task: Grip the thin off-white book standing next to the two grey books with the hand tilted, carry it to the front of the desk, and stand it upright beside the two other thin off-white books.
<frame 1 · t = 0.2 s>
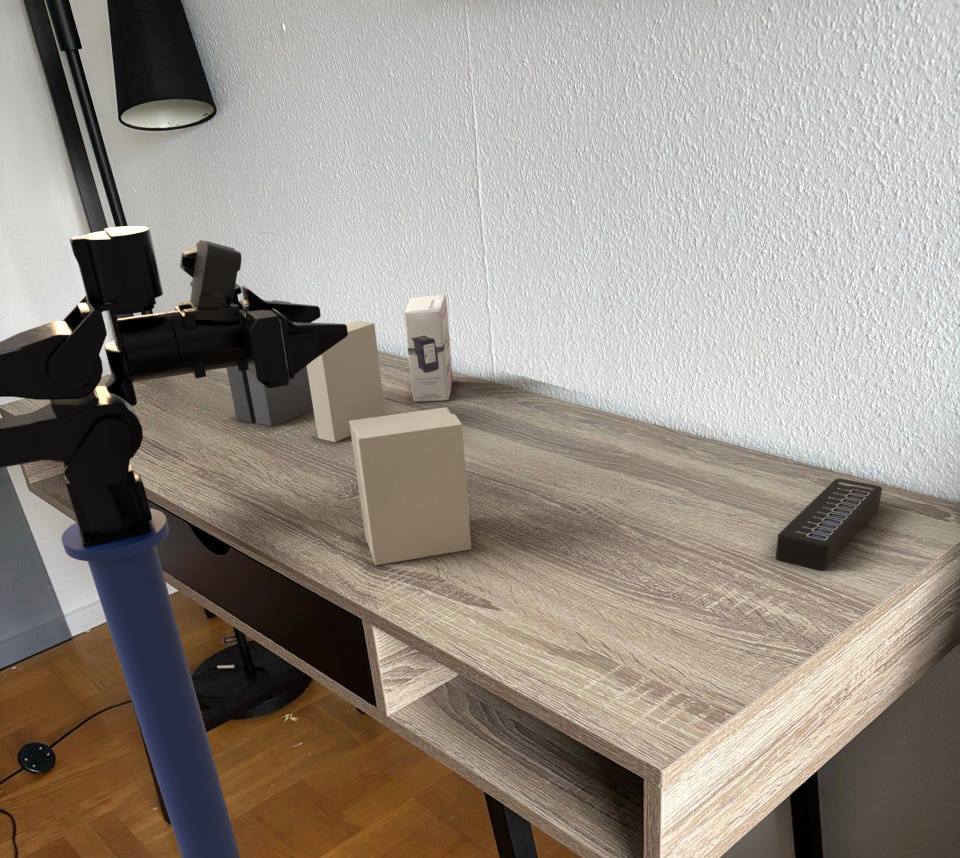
hand: (332, 320, 94), 17 cm above the table, tool horizontal, fingers open, 9 cm apart
multiport hub: (828, 534, 86), on the table
white books: (417, 542, 89), on the table
grey books: (281, 412, 124), on the table
ink box: (433, 393, 128), on the table
white book: (352, 429, 117), on the table
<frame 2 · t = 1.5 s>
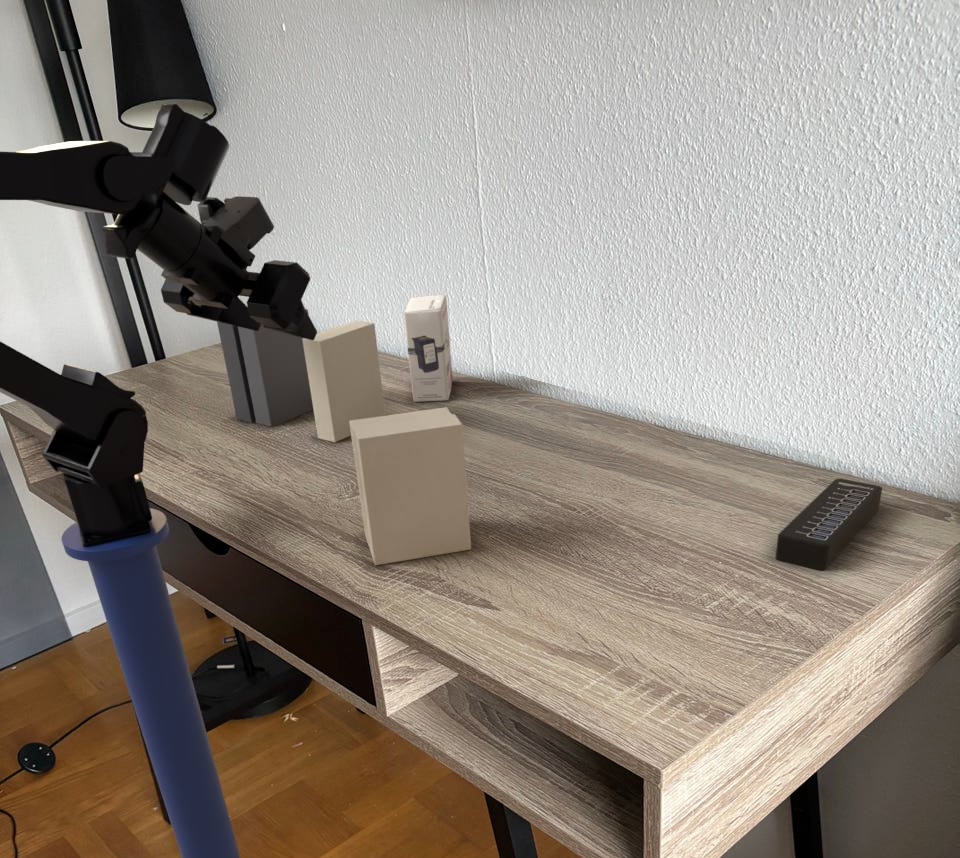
hand: (286, 331, 104), 14 cm above the table, tool tilted 45°, fingers open, 9 cm apart
nothing on the table moved.
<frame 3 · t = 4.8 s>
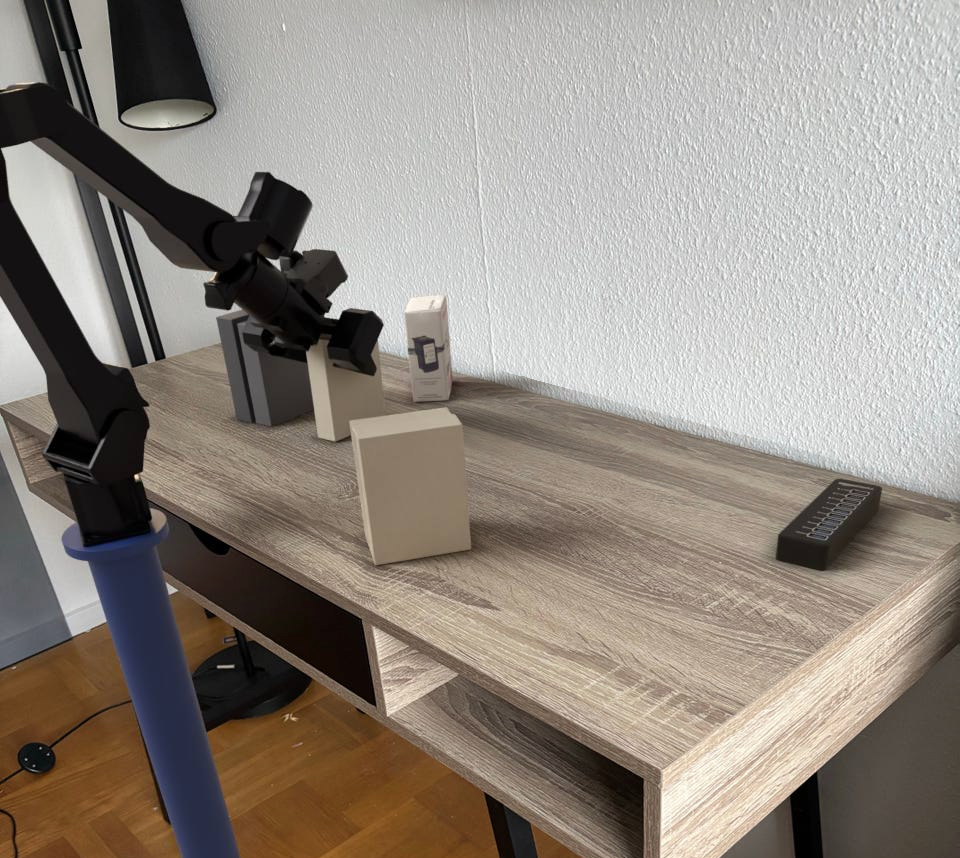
hand: (353, 368, 114), 7 cm above the table, tool tilted 45°, fingers closed on white book, 7 cm apart
white book: (352, 428, 117), on the table, touching gripper
everything else where it was.
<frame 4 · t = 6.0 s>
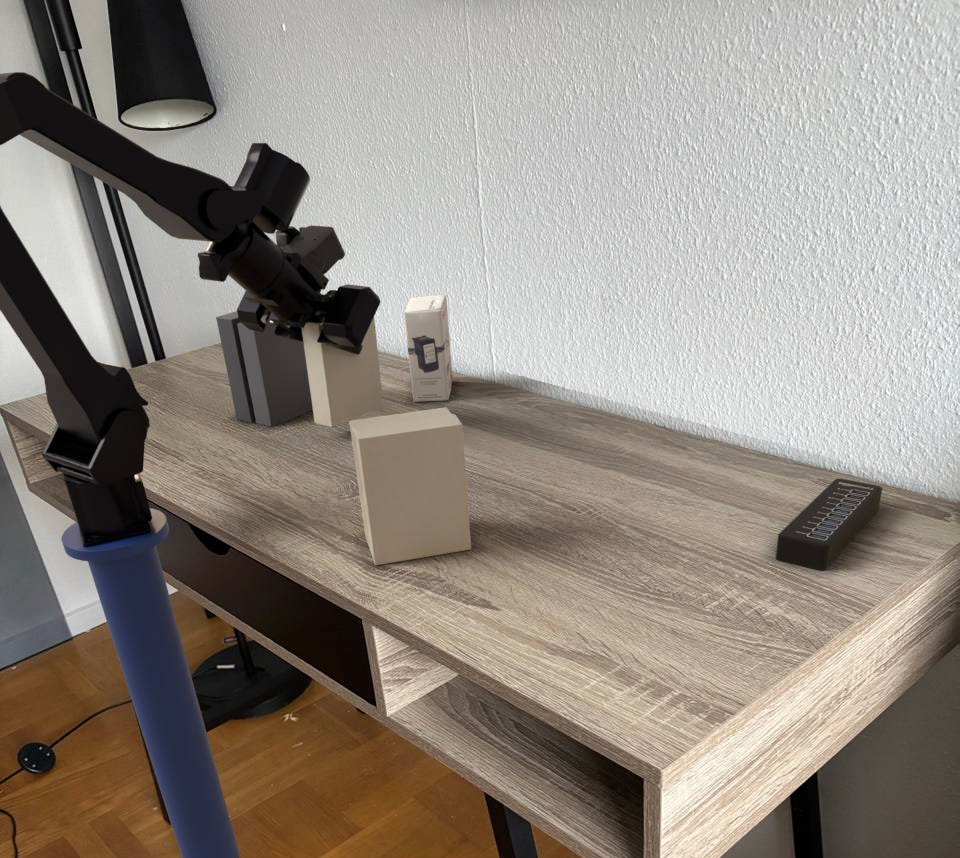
hand: (349, 349, 113), 9 cm above the table, tool tilted 45°, fingers closed on white book, 3 cm apart
white book: (349, 415, 116), point 2 cm above the table, touching gripper
everything else where it was.
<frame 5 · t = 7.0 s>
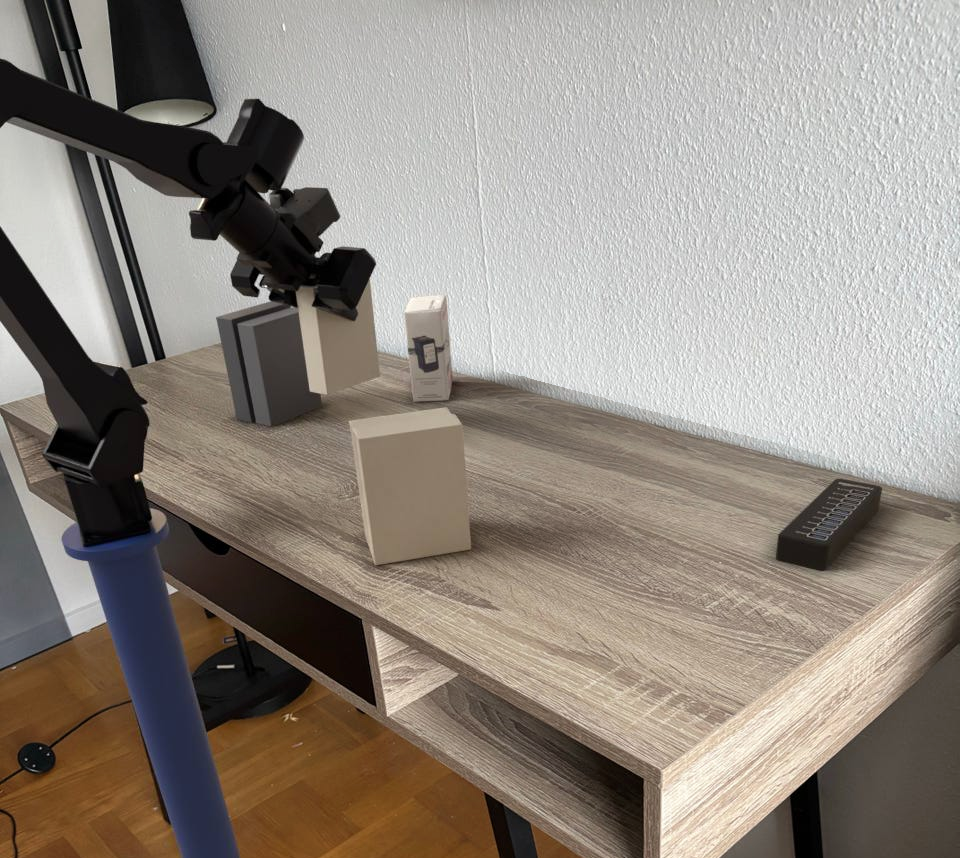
hand: (345, 315, 111), 13 cm above the table, tool tilted 45°, fingers closed on white book, 3 cm apart
white book: (345, 383, 114), point 6 cm above the table, touching gripper
everything else where it was.
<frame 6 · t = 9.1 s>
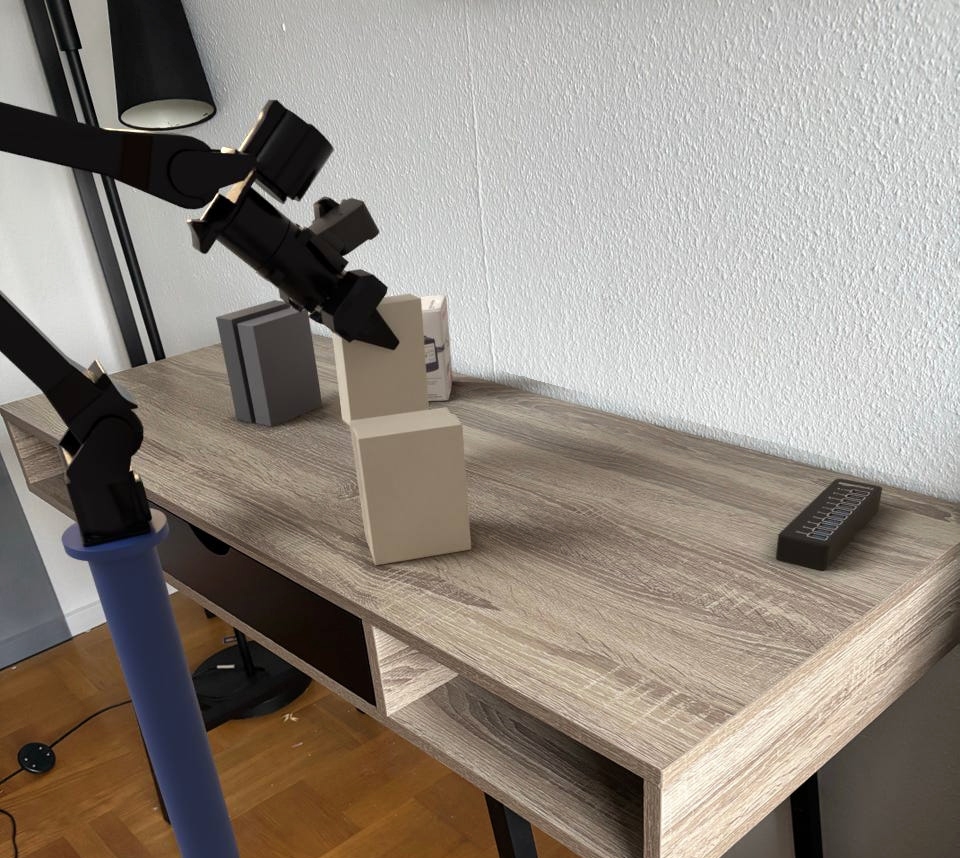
hand: (390, 342, 99), 13 cm above the table, tool tilted 45°, fingers closed on white book, 3 cm apart
white book: (385, 416, 103), point 6 cm above the table, touching gripper
everything else where it was.
when the fingers open (8 cm above the table, at t = 12.4 s): white book stays where it is, on the table.
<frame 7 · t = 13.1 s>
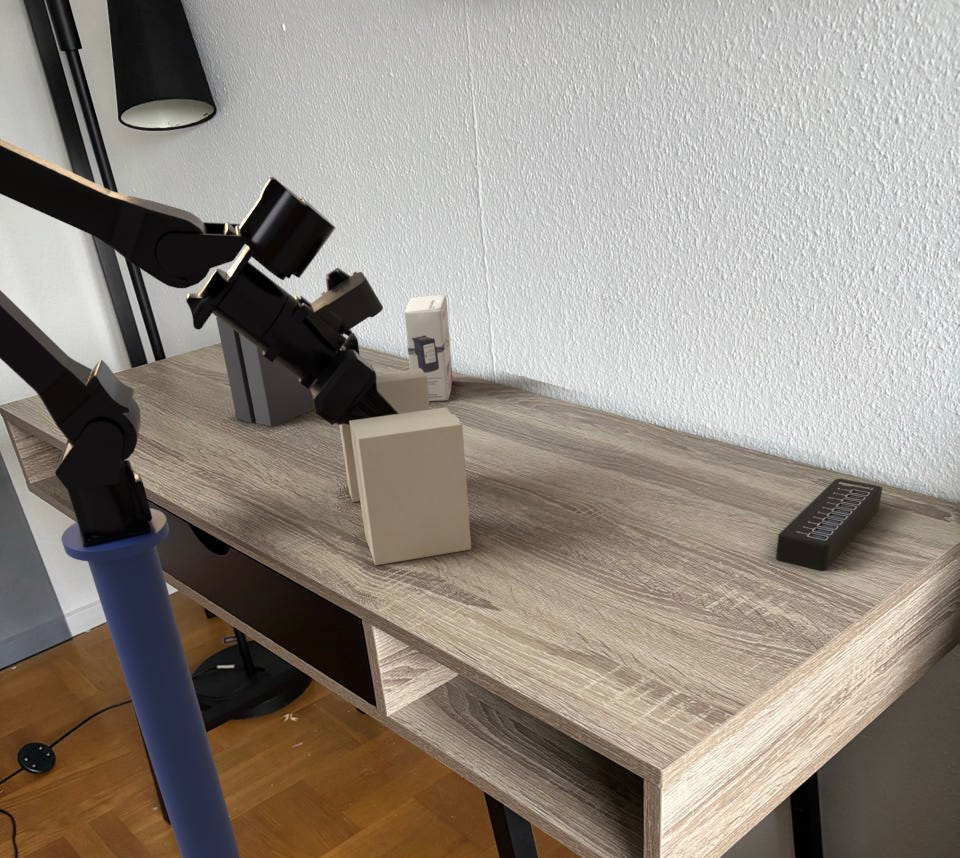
hand: (399, 416, 96), 8 cm above the table, tool tilted 45°, fingers open, 9 cm apart
white book: (392, 490, 100), on the table
everything else where it was.
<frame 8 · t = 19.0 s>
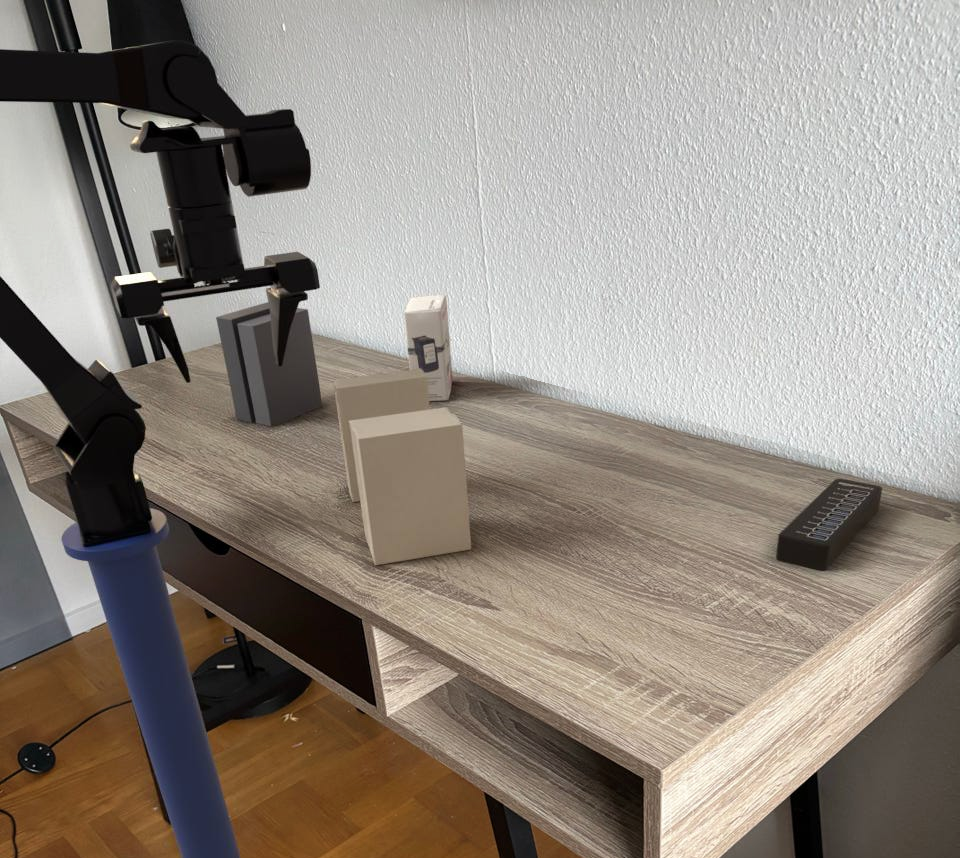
hand: (234, 373, 94), 13 cm above the table, tool pointing down, fingers open, 9 cm apart
nothing on the table moved.
at the end: white book inside the target area (0.1 cm from its centre), on the table; white book 13.2 cm from the white books (horizontally); white book tilted 0° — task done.
